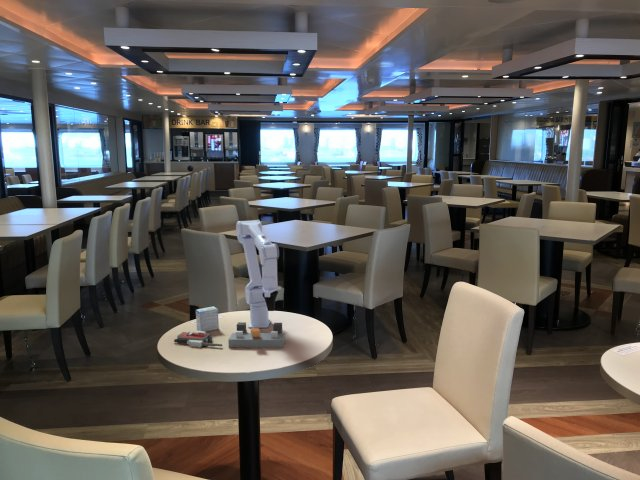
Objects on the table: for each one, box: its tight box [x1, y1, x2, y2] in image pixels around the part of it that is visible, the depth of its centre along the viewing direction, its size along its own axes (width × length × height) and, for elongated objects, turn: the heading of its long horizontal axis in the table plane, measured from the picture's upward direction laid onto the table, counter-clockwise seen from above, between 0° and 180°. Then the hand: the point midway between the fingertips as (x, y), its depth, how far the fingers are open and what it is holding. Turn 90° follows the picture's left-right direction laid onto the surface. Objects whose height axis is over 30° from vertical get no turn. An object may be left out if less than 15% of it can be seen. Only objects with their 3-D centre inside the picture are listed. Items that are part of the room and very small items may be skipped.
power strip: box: [227, 330, 286, 349], centre depth 193 cm, size 7×20×5 cm, turn 87°
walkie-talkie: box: [173, 330, 223, 348], centre depth 195 cm, size 9×4×20 cm
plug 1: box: [236, 321, 248, 333], centre depth 202 cm, size 10×3×6 cm, turn 176°
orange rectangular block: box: [250, 328, 262, 338], centre depth 190 cm, size 1×3×5 cm
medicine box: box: [195, 306, 220, 333], centre depth 210 cm, size 8×4×9 cm, turn 123°
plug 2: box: [272, 322, 283, 333], centre depth 201 cm, size 10×3×6 cm, turn 176°
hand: (270, 310), depth 200 cm, fingers closed
